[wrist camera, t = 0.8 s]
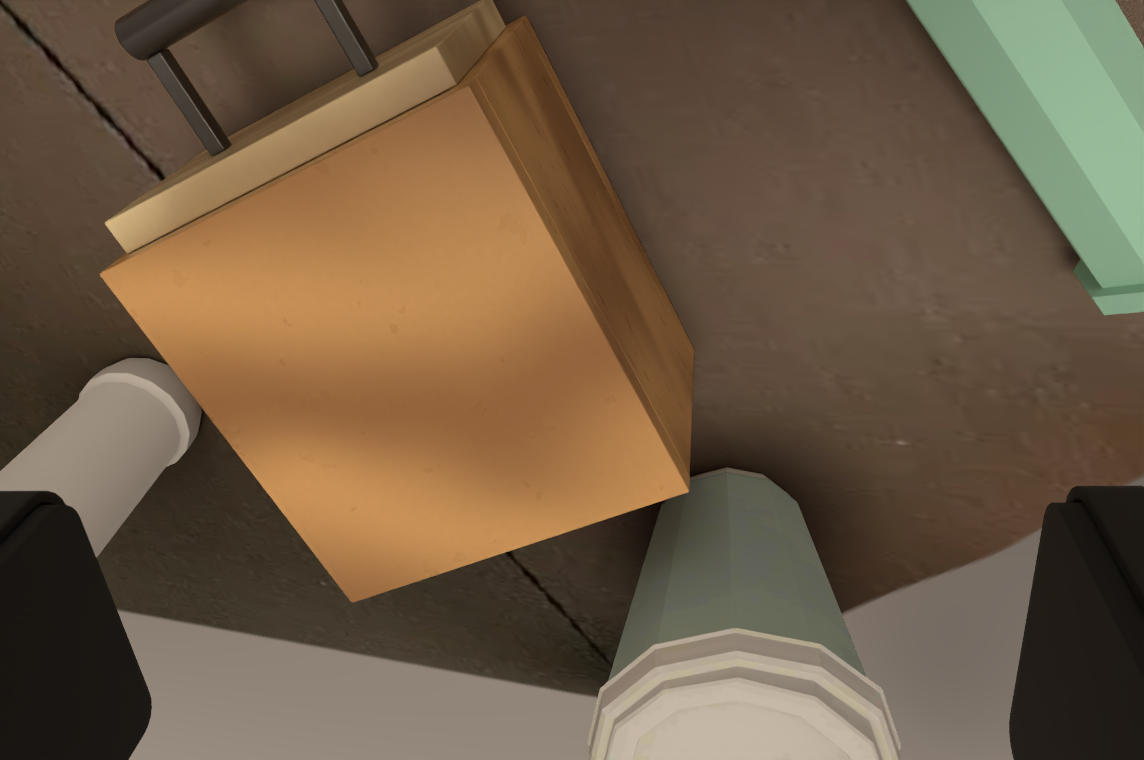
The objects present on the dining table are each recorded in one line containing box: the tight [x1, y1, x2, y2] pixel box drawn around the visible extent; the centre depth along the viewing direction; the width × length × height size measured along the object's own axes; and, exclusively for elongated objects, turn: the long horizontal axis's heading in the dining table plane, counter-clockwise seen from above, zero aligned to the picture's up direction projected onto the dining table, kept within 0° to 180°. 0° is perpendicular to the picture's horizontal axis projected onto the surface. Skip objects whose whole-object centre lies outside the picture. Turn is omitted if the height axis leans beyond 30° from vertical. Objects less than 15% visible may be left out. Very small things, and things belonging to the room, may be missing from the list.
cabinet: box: [100, 16, 694, 603], centre depth 37 cm, size 15×14×10 cm
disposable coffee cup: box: [587, 468, 901, 760], centre depth 40 cm, size 11×11×15 cm
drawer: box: [105, 0, 506, 254], centre depth 35 cm, size 18×13×8 cm
